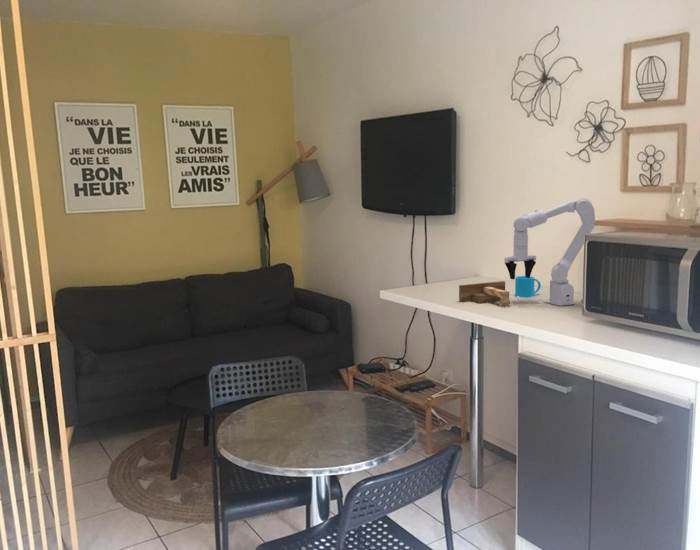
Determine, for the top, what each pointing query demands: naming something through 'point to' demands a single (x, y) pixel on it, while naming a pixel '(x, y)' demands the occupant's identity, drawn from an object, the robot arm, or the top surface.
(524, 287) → the mug
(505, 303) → the rail
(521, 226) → the robot arm
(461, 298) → the stepped wooden block
